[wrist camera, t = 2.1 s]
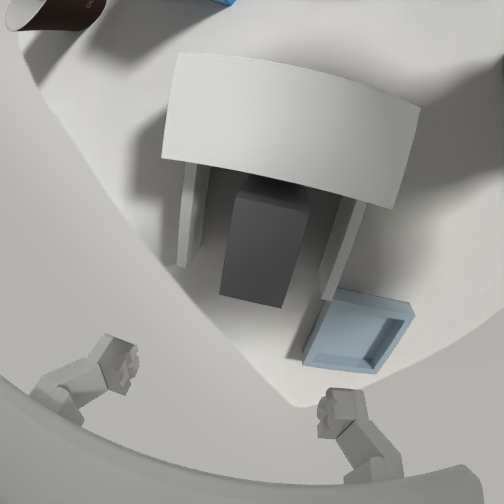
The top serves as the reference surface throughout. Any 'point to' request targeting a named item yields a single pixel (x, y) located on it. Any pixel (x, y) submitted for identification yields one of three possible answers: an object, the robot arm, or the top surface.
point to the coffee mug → (52, 14)
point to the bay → (286, 141)
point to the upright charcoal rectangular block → (264, 240)
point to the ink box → (225, 2)
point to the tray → (356, 332)
